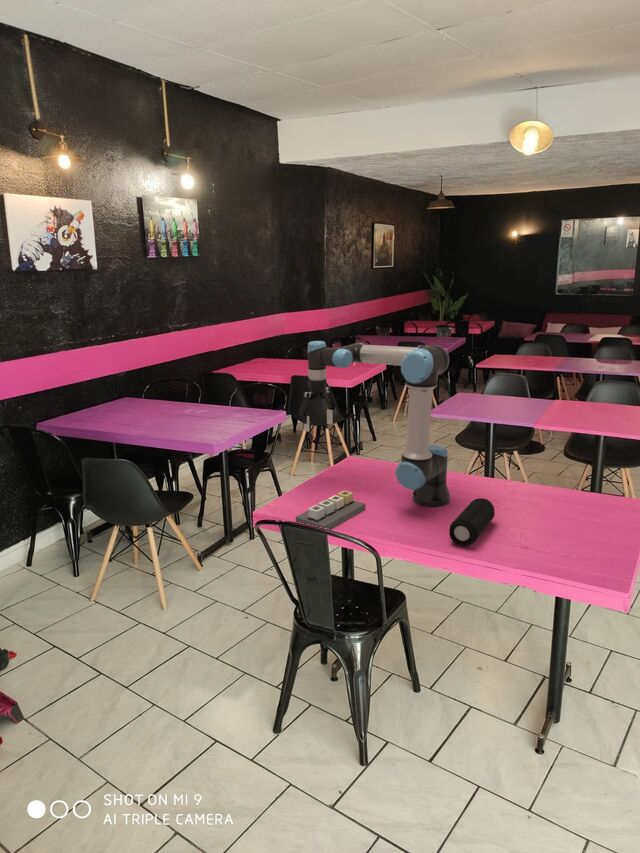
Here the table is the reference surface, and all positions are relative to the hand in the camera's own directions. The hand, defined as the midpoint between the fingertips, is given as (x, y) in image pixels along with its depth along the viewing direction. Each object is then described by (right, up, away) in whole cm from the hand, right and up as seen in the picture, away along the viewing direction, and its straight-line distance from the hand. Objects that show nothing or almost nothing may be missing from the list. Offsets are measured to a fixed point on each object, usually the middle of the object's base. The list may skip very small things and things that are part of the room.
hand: (318, 427), depth 267 cm
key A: (+3, -32, -27) cm, 42 cm away
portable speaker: (+56, -39, -40) cm, 79 cm away
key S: (+11, -29, -18) cm, 36 cm away
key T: (+7, -31, -22) cm, 39 cm away
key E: (-1, -34, -31) cm, 46 cm away
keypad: (+5, -34, -23) cm, 42 cm away
